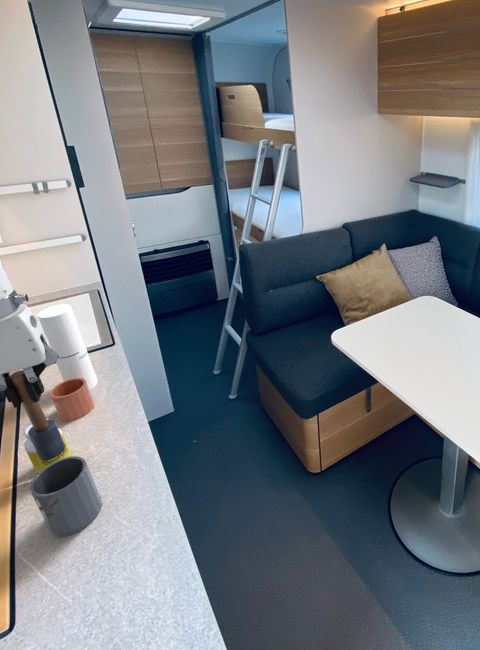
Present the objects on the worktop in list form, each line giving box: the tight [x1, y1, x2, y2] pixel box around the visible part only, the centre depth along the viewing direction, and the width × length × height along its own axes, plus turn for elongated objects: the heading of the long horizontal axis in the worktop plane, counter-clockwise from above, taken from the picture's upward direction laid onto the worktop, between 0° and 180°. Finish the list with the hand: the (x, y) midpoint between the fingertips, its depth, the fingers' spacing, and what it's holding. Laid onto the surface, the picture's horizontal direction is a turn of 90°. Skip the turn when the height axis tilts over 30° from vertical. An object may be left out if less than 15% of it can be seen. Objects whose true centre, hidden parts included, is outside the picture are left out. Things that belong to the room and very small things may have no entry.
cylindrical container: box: [37, 303, 98, 390], centre depth 112 cm, size 7×7×25 cm
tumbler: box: [29, 455, 103, 538], centre depth 79 cm, size 9×9×11 cm
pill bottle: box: [24, 418, 72, 475], centre depth 90 cm, size 6×6×12 cm
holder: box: [49, 378, 95, 422], centre depth 106 cm, size 8×8×8 cm
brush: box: [10, 369, 66, 461], centre depth 73 cm, size 4×4×18 cm
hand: (28, 399), depth 72 cm, fingers closed on brush, 2 cm apart
